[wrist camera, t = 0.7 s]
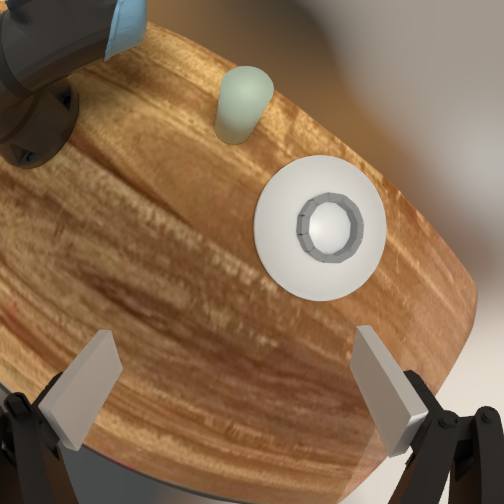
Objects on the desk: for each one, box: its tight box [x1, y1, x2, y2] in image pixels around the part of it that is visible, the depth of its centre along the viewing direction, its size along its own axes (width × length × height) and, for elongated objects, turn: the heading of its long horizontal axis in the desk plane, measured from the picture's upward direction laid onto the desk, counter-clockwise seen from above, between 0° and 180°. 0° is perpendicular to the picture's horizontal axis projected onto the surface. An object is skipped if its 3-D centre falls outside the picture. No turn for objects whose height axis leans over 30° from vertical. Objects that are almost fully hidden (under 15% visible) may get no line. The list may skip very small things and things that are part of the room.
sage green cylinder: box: [215, 66, 274, 145], centre depth 29 cm, size 5×5×12 cm
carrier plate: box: [253, 155, 386, 301], centre depth 37 cm, size 20×20×3 cm
